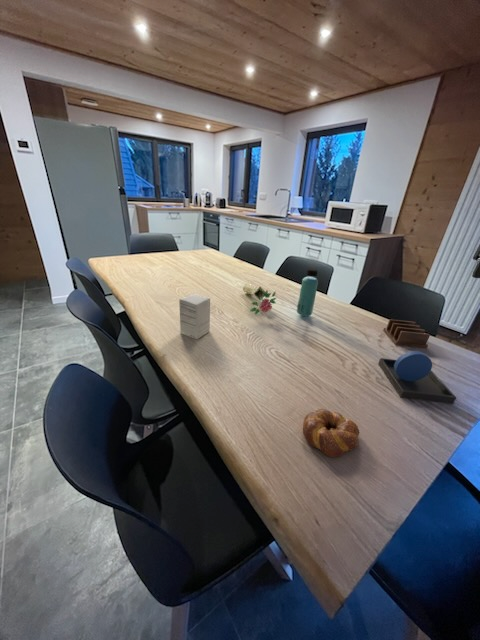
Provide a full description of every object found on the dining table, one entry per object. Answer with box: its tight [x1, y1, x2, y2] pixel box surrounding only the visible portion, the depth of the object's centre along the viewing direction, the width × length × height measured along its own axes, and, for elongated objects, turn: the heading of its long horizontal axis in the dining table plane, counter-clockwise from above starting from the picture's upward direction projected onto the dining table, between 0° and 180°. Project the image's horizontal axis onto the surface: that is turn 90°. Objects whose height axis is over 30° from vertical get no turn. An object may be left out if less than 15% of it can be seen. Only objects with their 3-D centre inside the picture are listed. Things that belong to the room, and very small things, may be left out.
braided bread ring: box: [302, 408, 361, 458], centre depth 55 cm, size 12×11×4 cm
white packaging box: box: [178, 292, 211, 340], centre depth 88 cm, size 7×7×13 cm
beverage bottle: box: [296, 268, 319, 317], centre depth 106 cm, size 6×7×20 cm
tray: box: [378, 357, 457, 405], centre depth 74 cm, size 13×15×2 cm
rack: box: [383, 318, 431, 349], centre depth 97 cm, size 11×11×5 cm
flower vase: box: [242, 283, 277, 315], centre depth 113 cm, size 12×12×35 cm
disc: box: [394, 350, 433, 381], centre depth 72 cm, size 9×2×9 cm, turn 85°
